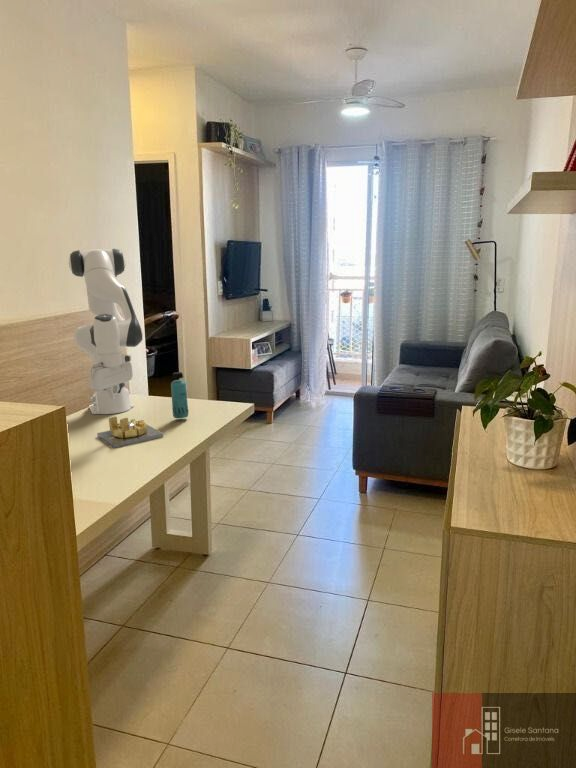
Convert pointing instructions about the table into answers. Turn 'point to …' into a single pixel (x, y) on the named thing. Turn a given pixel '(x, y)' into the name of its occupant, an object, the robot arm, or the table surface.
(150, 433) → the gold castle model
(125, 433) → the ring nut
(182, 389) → the beverage bottle
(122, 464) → the table surface
